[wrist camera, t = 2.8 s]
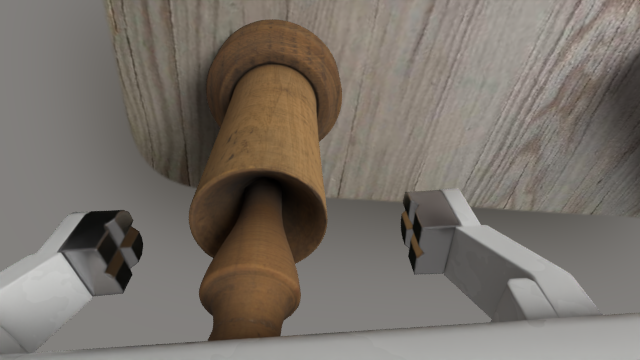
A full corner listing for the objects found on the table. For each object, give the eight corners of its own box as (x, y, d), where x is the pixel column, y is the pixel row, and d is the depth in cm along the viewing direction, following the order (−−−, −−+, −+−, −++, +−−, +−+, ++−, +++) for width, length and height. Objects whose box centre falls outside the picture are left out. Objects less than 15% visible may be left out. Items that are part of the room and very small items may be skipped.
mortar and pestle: (334, 11, 17) (560, 543, 2) (341, 129, 21) (445, 610, 6) (198, 26, 17) (-384, 631, 2) (230, 141, 21) (78, 642, 6)
